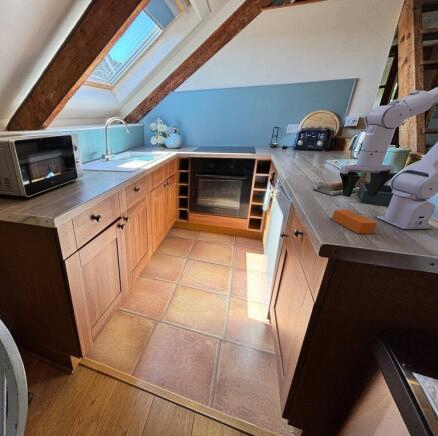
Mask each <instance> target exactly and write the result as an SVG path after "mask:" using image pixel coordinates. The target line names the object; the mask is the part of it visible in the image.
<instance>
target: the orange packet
mask: <svg viewBox="0 0 438 436" xmlns="http://www.w3.org/2000/svg"><path fill="white" fill-rule="evenodd" d="M331 220H332V221H334V222H336V223H338V224H339V225H342V226H344V227H345V228H347V229H349V230H351V231H352V232H354V233H356V234H358V235H359V234H374V232H375V229H376V227H377V223H378V222H377V221H375V220H372V219H370V218H367V217H366V216H363V215H361V214H359V213H357V212H354V211H353V210H350V209H334V211H333V214H332V218H331Z"/></svg>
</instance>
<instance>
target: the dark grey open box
mask: <svg viewBox="0 0 438 436" xmlns="http://www.w3.org/2000/svg"><path fill="white" fill-rule="evenodd" d="M369 185H370V183H361V185H360V187H359V188H360V189H359V192H357V195H358V199H359V201H360V203H361V204H368V205H375V206H383V207H389V204H390V202H391V199H392V196H393V194H394V193H392V189H391V187H390V184H384V185H383V186H382V188H381V189H380V190H379V191H378V193H377V194H376V195H375V197H372V196H369V195H367V192H368V188H369Z"/></svg>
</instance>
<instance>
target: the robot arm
mask: <svg viewBox="0 0 438 436" xmlns="http://www.w3.org/2000/svg"><path fill="white" fill-rule="evenodd" d="M436 103H438V86H437V87H434V88H433V89H430V90H428V91H427V90H419V89H418V90H417V89H416V90H412V91H410V92H409V93H408V95H406V96H403V97H401V98H398V99H392V100H391V101H389V103H388V104H387V105H377V106H375V107H374V108H372V109H371V110H370V111H368V114H367V115H366V116H364V125H365V130H364V132H365V135H364V138H363V142H362V145H361V148H360V152H359V155H358V157H357V161H356V163H355V164H349V165H341V167H340V170H339V177H340V180H342V185H343V194H342V196H343V197H347V198H351V196H352V194H353V192H352V191H353V188H354V186H355V184H356V183H357V181H358V180H359V178H360V176H358V173H370V185H369V188H368V192H367V195H369V196H372V197H375V195H376V194H377V193H378V191H379V190H380V189H381V188H382V186H383V185H386V183H388V182H389V181H390V182H389V185H390V187H391V189H392V193H394V194H393V196H392V199H391V202H390V204H389V206H387V210H386V213H385V215H377V216H376V218H377V219H379V220H381V221H384V222H385V223H388V224H390V225H393V226H395V227H398V228H400V229H402V230H423V229H424V230H426V229H429V228H430V227H429V226H428V225H429V222H430V220H431V219H432V216H433V214H434V212H435V205H434V203H433V202H431V201H429V200H430V198H433V197H434V196H436V195H437V194H438V141H436V143H434V145H433V146H432V147H431V148H430V149H429V150H428V152H426V154H425V155H424V156H423V157H422V158H421V159H420V160H419V162H416V163H413V164H410V165H407V166H405V167H404V168H402V170H401V171H400V172H398V173H396V174H395V175H394V174H393V173H395V170H396V168H397V166H396V165H391V164H383V163H384V161H385V158H386V156H387V152H388V149H389V147H390V144H391V141H392V138H393V135H394V133H395V129H396V128H399V127H400V126H401V125H402V124H403V123H404V122H405V120H407V119H410V118H413V117H415V116H417V115H420V114H422V113H424V112H426V111H429V110H430V108H431V107H432V106H433V105H434V104H436ZM363 170H365V171H363Z"/></svg>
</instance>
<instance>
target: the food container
mask: <svg viewBox="0 0 438 436" xmlns="http://www.w3.org/2000/svg"><path fill="white" fill-rule="evenodd" d="M363 171H365V170H363ZM357 176H360V178H359V180H358V181H357V182H358V184H357V187H358V188H360V185H361V183H370V173H357Z"/></svg>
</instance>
